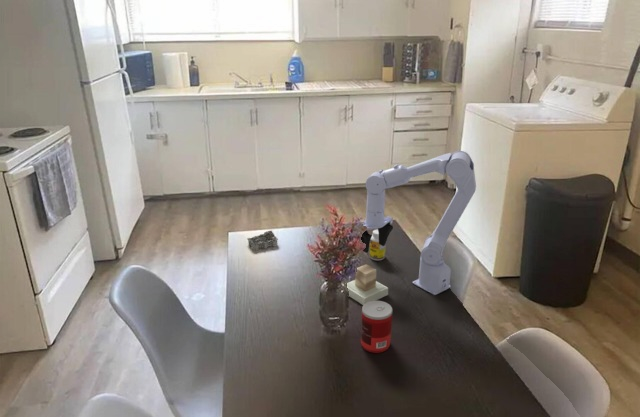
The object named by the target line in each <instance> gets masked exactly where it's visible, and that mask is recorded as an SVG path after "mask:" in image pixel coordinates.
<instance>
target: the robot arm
mask: <svg viewBox="0 0 640 417" xmlns="http://www.w3.org/2000/svg"><path fill="white" fill-rule="evenodd" d="M430 173H438V174H440V175H441V176H445V175H446V174H447V176H448V177H449V179H451V180H452V181H453V182H454V184H455V186H456V188H457V189H456V192H455V193H454V195H453V197H452V199H451V200H450V203H449V204H448V205H447V208H446V209H445V211H444V213H443V215H442V217H441V218H440V221H439V222H438V224H437V226H436V228H435V229H434V230H433V232H432V233H431V235H429V236H427V237H426V238H425V240H424V243H423V244H424V245H423V247H422V249H421V252H420V257H419V259H420V260H419V270H418V271H419V272H418V278H417V279H416V280H413V281H412V285H415V286H416V287H418V288H420V289H422V290H424V291H425V292H428V293H430V294H432V295H433V296H436V295H438V294H440V293H443V292H444V291H447V290H448V289H450V288H451V274H452V270H451V267H450V266H449V265H447V264H446V263H445V261H444V259H445V258H444V257H443V251H444V249H445V246H446V243H447V242H448V240H449V238H450V236H451V234H452V232H453V231H454V229H455V227H456V226H457V224H458V222H459V221H460V218H461V217H462V215H463V213H464V212H465V210H466V208H467V207H468V205H469V203H470V201H471V200H472V198H473V196H474V194H475V192H476V190H477V189H476V188H477V182H476V181H477V180H476V174H475V164H474V162H473V160H472V157H471V156H470V154H469V153H468V152H467V151H464V150H456V151H454V152H449V153H448V152H447V153H445V154H441V155H438V156H436V157H433V158H430V159H427V160H425V161H424V160H423V161H422V162H419V163H416V164H413V165H411V166H406V165H404V164H400V165H399V164H398V163H397V164H394V165H393V166H392V167H390V168H387V169H385V170H383V169H380V170H378V171H374V172H373V173H371V174H370V175H369V176H368V178H367V179H366V180H365V189H366V192H367V193H366V194H367V195H366V208H365V209H366V210H365V211H366V212H365V213H366V214H365V219H364V222H363V223H362V224H363V226H366V227H367V230H366V231H365V232H364V233H363V234H362V237H361V240H362V242H363V243H365V244H366V248H365V249H364V250H363V251H362V252H363V253H366V254H367V253H369V252H370V239H371V237H372V234H370V233H369V231H371V230H372V231H373V230H378V232H379V244H380V245H382V246H385V244H386V245H387V241H388V238H389V235H390V233H391V232H392V230H393V228H394V225H392V224H393V223H394V222H393V221H394V220H393V217H391V216H389V215H388V216H385V209H386V207H385V206H386V189H392V188H395V187H399V186H402V185H404V184H405V185H406V184H408V183H409V181H410V179H411V178H415V177H420V176H423V175H427V174H430ZM385 247H386V246H385Z"/></svg>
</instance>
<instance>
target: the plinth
mask: <svg viewBox="0 0 640 417" xmlns="http://www.w3.org/2000/svg"><path fill="white" fill-rule="evenodd" d="M346 283H347V288H348V291H349V296H348V297H350V298H351V299H353V300H354V301H356V302H358V303H359V304H361V305H362V306H363V305H364V304H366V303H367V302H370V301H379V300H380V299H382V298H384V297H386V296H388V295H389V287H387V286H386V285H384V284H382V283H380V282H379V281H377V280H376V287H374V288H372V289H370V290H367V291H363V290H362V289H360V288H358V287H357V286H355V279H353V280H351V281H349V282H346Z"/></svg>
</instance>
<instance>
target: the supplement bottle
mask: <svg viewBox="0 0 640 417" xmlns="http://www.w3.org/2000/svg"><path fill="white" fill-rule="evenodd" d="M371 235H372V237H371V239H370V243H369V252H368V253H369V258H370V259H371V260H373V261H382V260H384V259H385V258H386V245H387V243H386V244H385V246H382V245H380V244H379V232H378V229H373V230H372V234H371Z"/></svg>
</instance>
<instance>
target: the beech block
mask: <svg viewBox="0 0 640 417" xmlns="http://www.w3.org/2000/svg"><path fill="white" fill-rule="evenodd" d="M356 268H357V272H356V271H355V273H356V274H355V275H354V276H355V277H354V280H355V286H357V287H358V288H360V289H362V290H363V291H367V290H370V289H372V288H374V287H376V281H377V269H376V268H375V267H372V266H371V265H369V264H366V263H365V264H364V265H361V266H359V267H356Z"/></svg>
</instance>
